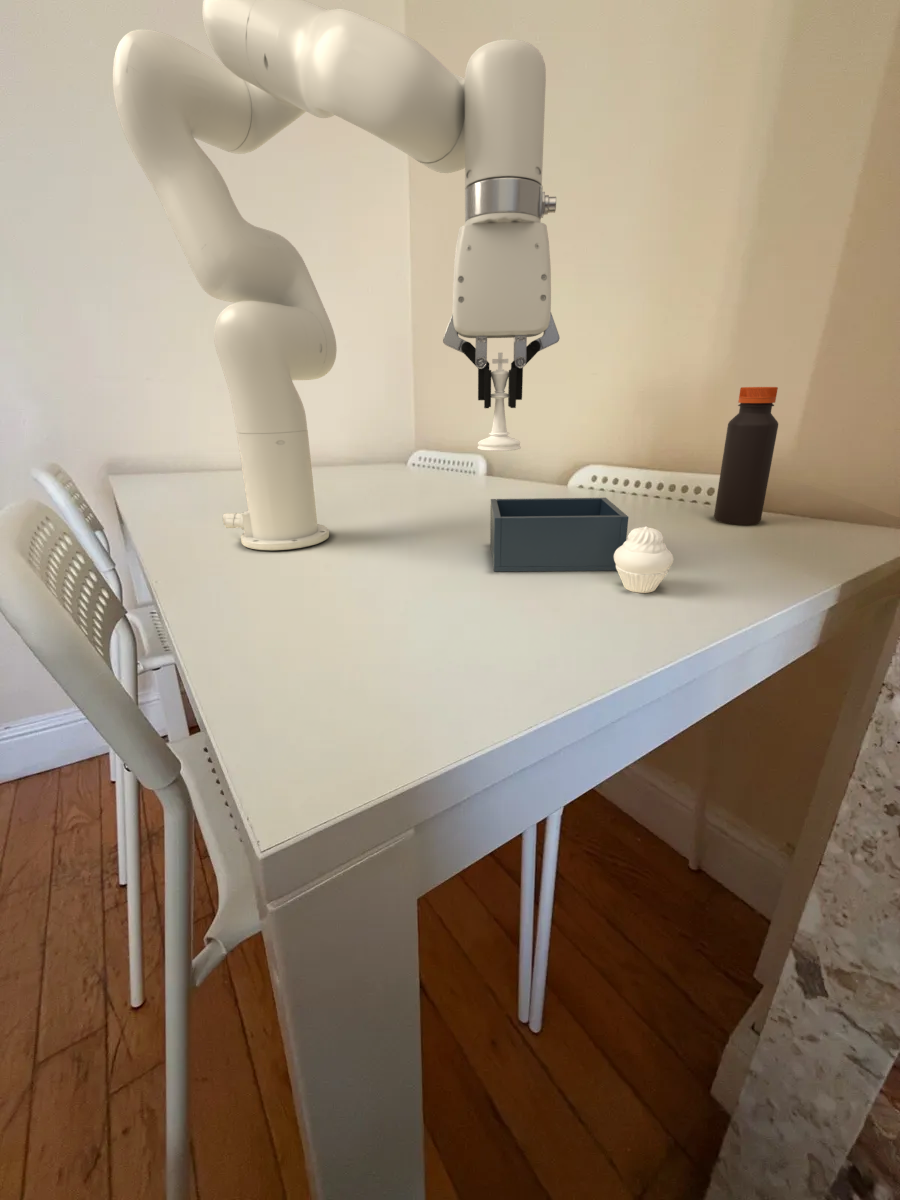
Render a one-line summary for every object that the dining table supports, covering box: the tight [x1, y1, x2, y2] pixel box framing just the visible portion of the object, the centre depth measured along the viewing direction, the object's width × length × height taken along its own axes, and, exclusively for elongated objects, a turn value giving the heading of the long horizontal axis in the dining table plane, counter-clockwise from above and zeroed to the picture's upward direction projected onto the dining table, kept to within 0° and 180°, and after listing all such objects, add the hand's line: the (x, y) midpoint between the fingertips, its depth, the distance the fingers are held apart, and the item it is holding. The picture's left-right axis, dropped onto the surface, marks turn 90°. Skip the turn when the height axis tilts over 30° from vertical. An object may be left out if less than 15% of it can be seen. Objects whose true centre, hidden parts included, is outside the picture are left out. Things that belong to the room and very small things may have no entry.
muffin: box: [614, 526, 674, 594], centre depth 61 cm, size 6×6×7 cm
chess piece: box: [476, 352, 522, 452], centre depth 63 cm, size 5×5×10 cm
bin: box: [489, 497, 630, 572], centre depth 73 cm, size 16×12×7 cm
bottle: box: [713, 386, 779, 526], centre depth 87 cm, size 7×7×20 cm
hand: (499, 406), depth 63 cm, fingers closed on chess piece
